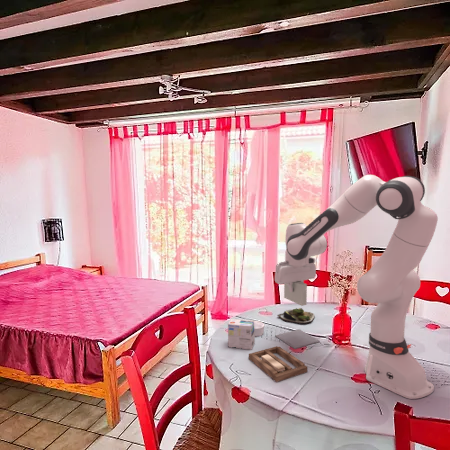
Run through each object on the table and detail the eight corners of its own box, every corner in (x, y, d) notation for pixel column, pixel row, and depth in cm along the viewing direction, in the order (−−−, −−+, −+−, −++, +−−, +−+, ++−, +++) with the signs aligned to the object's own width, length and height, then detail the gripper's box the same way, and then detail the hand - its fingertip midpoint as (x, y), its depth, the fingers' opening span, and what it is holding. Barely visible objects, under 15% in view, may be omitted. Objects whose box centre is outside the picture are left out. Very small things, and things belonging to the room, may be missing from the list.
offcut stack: (284, 375, 124) (284, 366, 124) (278, 377, 123) (278, 369, 122) (267, 362, 134) (267, 354, 134) (261, 364, 133) (261, 355, 132)
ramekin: (267, 331, 162) (267, 322, 162) (260, 338, 155) (260, 329, 154) (250, 328, 166) (250, 319, 166) (242, 335, 159) (242, 326, 158)
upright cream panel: (306, 304, 144) (306, 284, 142) (301, 305, 142) (302, 285, 141) (288, 296, 154) (288, 277, 153) (284, 297, 153) (284, 278, 152)
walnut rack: (307, 371, 126) (307, 365, 126) (276, 382, 119) (276, 375, 119) (277, 350, 143) (277, 344, 142) (248, 358, 136) (248, 352, 136)
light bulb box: (255, 343, 150) (254, 319, 149) (252, 350, 143) (251, 325, 142) (231, 340, 153) (231, 317, 151) (227, 347, 146) (227, 323, 145)
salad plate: (287, 308, 193) (287, 301, 192) (318, 314, 184) (319, 306, 183) (274, 320, 176) (274, 312, 175) (308, 327, 167) (308, 318, 167)
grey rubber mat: (319, 342, 150) (319, 340, 150) (294, 349, 144) (294, 347, 144) (299, 330, 162) (299, 329, 162) (275, 336, 156) (275, 335, 156)
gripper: (280, 264, 138) (280, 296, 140) (318, 258, 148) (317, 289, 150) (271, 261, 144) (271, 292, 146) (308, 256, 154) (308, 285, 155)
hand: (295, 290), depth 148 cm, fingers closed on upright cream panel, 2 cm apart
